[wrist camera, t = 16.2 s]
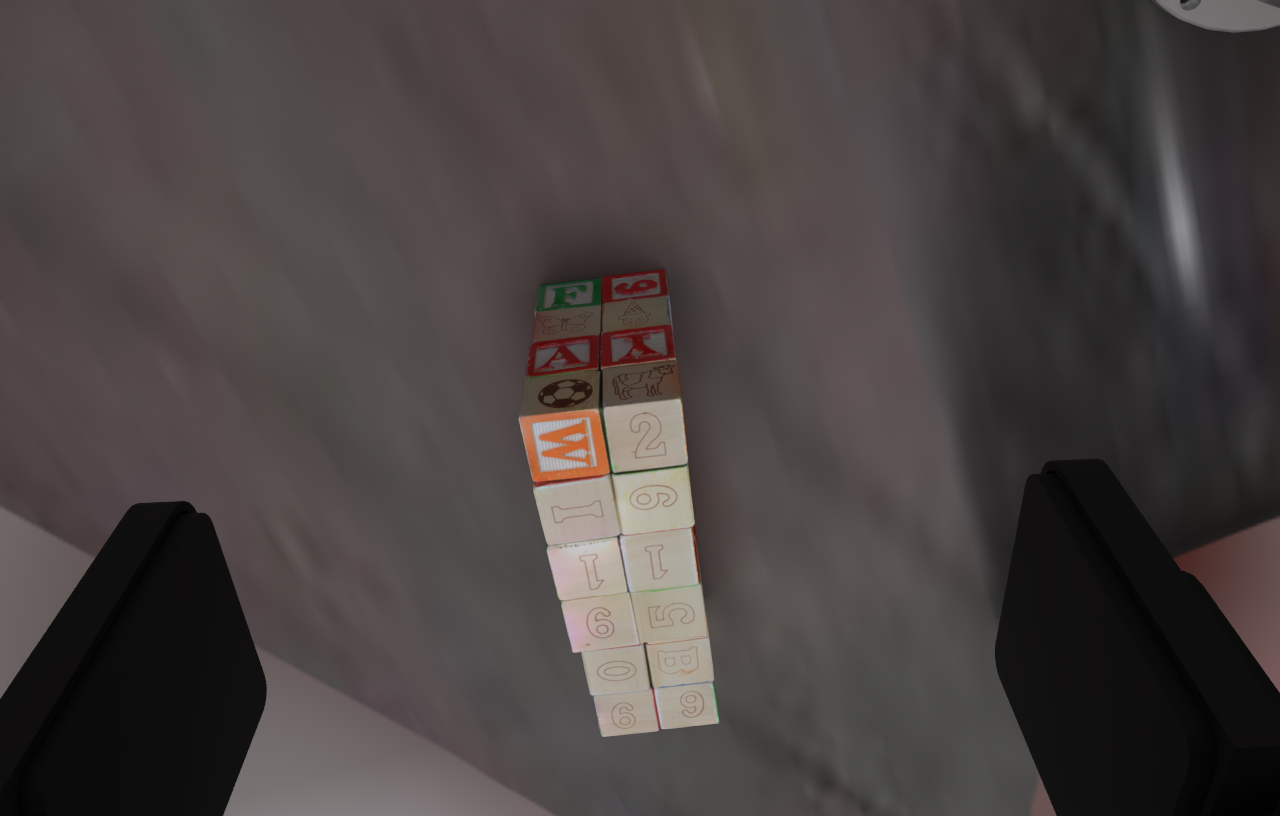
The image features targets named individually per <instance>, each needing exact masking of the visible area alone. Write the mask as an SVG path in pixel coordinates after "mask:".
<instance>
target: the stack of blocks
mask: <svg viewBox="0 0 1280 816" xmlns="http://www.w3.org/2000/svg"><path fill="white" fill-rule="evenodd" d="M534 316H535V323H534V328H533V334H532V344H531V345H530V346H529V350H528V358H527V364H526V372H525V384H524V390H523V395H522V400H521V406H520V412H519V423H520V428H521V432H522V436H523V440H524V445H525V449H526V453H527V458H528V462H529V467H530V471H531V476H532V479H533V491H534V495H535V499H536V503H537V507H538V511H539V515H540V519H541V523H542V527H543V531H544V535H545V539H546V542H547V545H546V550H547V555H548V560H549V563H550V567H551V571H552V575H553V579H554V583H555V587H556V591H557V595H558V598H559V599H560V600H561V608H562V612H563V616H564V620H565V624H566V628H567V632H568V636H569V640H570V644H571V648H572V651H573V653H576V652H581V653H582V658H583V663H584V668H585V673H586V678H587V682H588V687H589V691H590V694H591V695H593V697H594V703H595V708H596V713H597V718H598V722H599V727H600V732H601V736H602V737H606V736H616V735H624V734H634V733H644V732H654V731H658V730H659V729H671V728H680V727H690V726H698V725H707V724H716V723H719V715H718V707H717V700H716V692H715V685H714V671H713V663H712V656H711V648H710V640H709V631H708V623H707V616H706V608H705V601H704V591H703V585H702V578H701V571H700V563H699V554H698V546H697V538H696V531H695V520H694V512H693V503H692V495H691V486H690V474H689V464H688V453H687V444H686V435H685V425H684V414H683V406H682V398H681V390H680V382H679V374H678V366H677V359H676V350H675V342H674V334H673V324H672V315H671V306H670V297H669V290H668V283H667V275H666V271H665V270H656V271H647V272H639V273H631V274H623V275H615V276H606V277H603V278H598V279H590V280H581V281H573V282H564V283H556V284H546V285H540V286H539V288H538V294H537V298H536V304H535V309H534Z"/></svg>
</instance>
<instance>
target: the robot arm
mask: <svg viewBox="0 0 1280 816" xmlns="http://www.w3.org/2000/svg"><path fill="white" fill-rule="evenodd" d="M1151 1H1152V2H1153V3H1154V4H1155V5H1157V6H1158V7H1159V8H1160V9H1161V10H1163V11H1165V12H1167V13H1169V14H1171V15H1172V16H1174V17H1176V18H1178V19H1180V20H1182V21H1184V22H1187V23H1190V24H1193V25H1196V26H1199V27H1202V28H1204V29H1208V30H1216V31H1224V32H1233V33H1237V32H1248V31H1260V30H1266V29H1270V28H1273V27H1277V26H1280V0H1181V1H1180V0H1151ZM995 660H996V667H997V671H998V675H999V678H1000V680H1001V683H1002V685H1003V688H1004V690H1005V693H1006V695H1007V697H1008V700H1009V702H1010V705H1011V707H1012V709H1013V712H1014V714H1015V717H1016V719H1017V721H1018V724H1019V726H1020V729H1021V731H1022V733H1023V736H1024V738H1025V741H1026V743H1027V745H1028V748H1029V750H1030V753H1031V755H1032V758H1033V760H1034V762H1035V765H1036V767H1037V770H1038V772H1039V774H1040V777H1041V779H1042V781H1043V784H1044V786H1045V789H1046V791H1047V794H1048V796H1049V798H1050V801H1051V803H1052V806H1053V808H1054V810H1055V813H1056V815H1057V816H1280V693H1279V691H1278V690H1277V689H1276V687H1275V686H1274V684H1273V683H1272V681H1271V680H1270V679H1269V677H1268V676H1267V674H1266V673H1265V672H1264V670H1263V669H1262V667H1261V666H1260V665H1259V663H1258V662H1257V660H1256V659H1255V658H1254V656H1253V655H1252V654H1251V652H1250V651H1249V649H1248V648H1247V647H1246V645H1245V644H1244V642H1243V641H1242V640H1241V638H1240V637H1239V635H1238V634H1237V633H1236V631H1235V630H1234V628H1233V627H1232V625H1231V624H1230V623H1229V621H1228V620H1227V618H1226V617H1225V616H1224V614H1223V613H1222V611H1221V610H1220V609H1219V607H1218V606H1217V605H1216V603H1215V602H1214V600H1213V599H1212V597H1211V596H1210V595H1209V593H1208V592H1207V590H1206V589H1205V588H1204V586H1203V585H1202V584H1201V583H1200V582H1199V581H1198V580H1197V579H1196V578H1195V576H1194V575H1192V574H1190V573H1187V572H1185V571H1181V570H1180V568H1179V567H1178V565H1177V564H1176V562H1175V561H1174V560H1173V558H1172V557H1171V555H1170V554H1169V552H1168V551H1167V550H1166V548H1165V547H1164V545H1163V544H1162V542H1161V541H1160V540H1159V538H1158V537H1157V535H1156V534H1155V532H1154V531H1153V530H1152V528H1151V527H1150V525H1149V524H1148V522H1147V521H1146V520H1145V518H1144V517H1143V515H1142V514H1141V512H1140V511H1139V510H1138V508H1137V507H1136V505H1135V504H1134V502H1133V501H1132V500H1131V498H1130V497H1129V495H1128V494H1127V492H1126V491H1125V490H1124V488H1123V487H1122V485H1121V484H1120V482H1119V481H1118V480H1117V478H1116V477H1115V475H1114V474H1113V472H1112V471H1111V470H1110V468H1109V467H1108V465H1107V464H1106V463H1105V462H1104V461H1103V460H1100V459H1079V460H1057V461H1049V462H1047V463H1046V464H1045V465H1044V467H1043V468H1042V471H1041V474H1032V475H1030V476H1029V477H1028V479H1027V481H1026V485H1025V489H1024V495H1023V500H1022V505H1021V511H1020V516H1019V521H1018V527H1017V532H1016V537H1015V543H1014V548H1013V553H1012V559H1011V564H1010V569H1009V575H1008V580H1007V585H1006V591H1005V596H1004V601H1003V607H1002V612H1001V617H1000V622H999V628H998V633H997V638H996V644H995ZM266 689H267V687H266V679H265V675H264V672H263V669H262V666H261V663H260V660H259V657H258V655H257V652H256V649H255V646H254V643H253V640H252V637H251V634H250V631H249V628H248V625H247V622H246V619H245V616H244V613H243V611H242V608H241V605H240V602H239V599H238V596H237V593H236V590H235V587H234V584H233V581H232V578H231V575H230V572H229V569H228V567H227V564H226V561H225V558H224V555H223V552H222V549H221V546H220V543H219V540H218V537H217V534H216V531H215V528H214V526H213V523H212V521H211V519H210V517H209V516H208V515H207V514H205V513H197V512H196V510H195V508H194V507H193V506H192V505H191V504H190V503H189V502H186V501H177V502H155V503H138V504H135V505H132V506H131V508H130V509H129V510H128V511H127V512H126V514H125V515H124V516H123V518H122V519H121V521H120V522H119V524H118V525H117V527H116V528H115V530H114V531H113V533H112V534H111V536H110V537H109V539H108V540H107V542H106V543H105V545H104V546H103V548H102V549H101V551H100V552H99V554H98V555H97V557H96V558H95V559H94V561H93V562H92V564H91V565H90V567H89V568H88V570H87V571H86V573H85V575H84V576H83V577H82V579H81V580H80V582H79V583H78V585H77V586H76V588H75V589H74V591H73V592H72V594H71V595H70V597H69V598H68V599H67V601H66V602H65V604H64V606H63V607H62V608H61V610H60V611H59V613H58V614H57V616H56V618H55V619H54V620H53V622H52V623H51V625H50V626H49V628H48V629H47V631H46V632H45V634H44V635H43V637H42V638H41V640H40V641H39V643H38V644H37V645H36V647H35V648H34V650H33V651H32V653H31V654H30V656H29V657H28V659H27V660H26V662H25V663H24V665H23V666H22V668H21V669H20V671H19V672H18V674H17V675H16V677H15V678H14V680H13V681H12V682H11V684H10V685H9V687H8V689H7V690H6V691H5V693H4V694H3V696H2V697H1V699H0V816H223V814H224V812H225V809H226V806H227V804H228V801H229V798H230V796H231V794H232V791H233V788H234V786H235V783H236V781H237V778H238V775H239V773H240V770H241V768H242V765H243V762H244V760H245V757H246V754H247V752H248V749H249V747H250V744H251V742H252V739H253V736H254V734H255V731H256V729H257V726H258V723H259V721H260V718H261V715H262V713H263V710H264V706H265V702H266V693H267V690H266Z"/></svg>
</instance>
